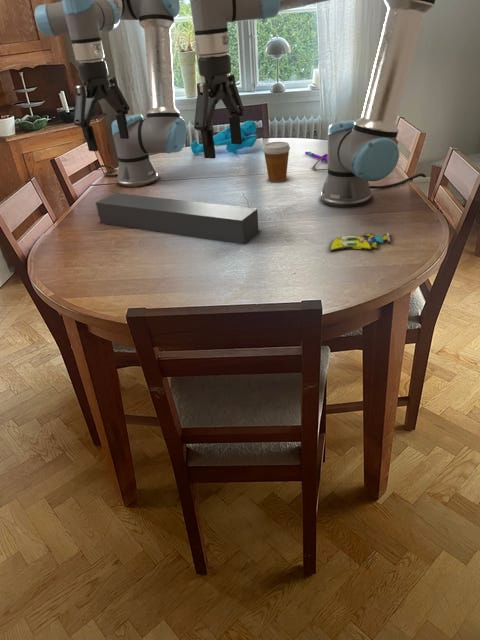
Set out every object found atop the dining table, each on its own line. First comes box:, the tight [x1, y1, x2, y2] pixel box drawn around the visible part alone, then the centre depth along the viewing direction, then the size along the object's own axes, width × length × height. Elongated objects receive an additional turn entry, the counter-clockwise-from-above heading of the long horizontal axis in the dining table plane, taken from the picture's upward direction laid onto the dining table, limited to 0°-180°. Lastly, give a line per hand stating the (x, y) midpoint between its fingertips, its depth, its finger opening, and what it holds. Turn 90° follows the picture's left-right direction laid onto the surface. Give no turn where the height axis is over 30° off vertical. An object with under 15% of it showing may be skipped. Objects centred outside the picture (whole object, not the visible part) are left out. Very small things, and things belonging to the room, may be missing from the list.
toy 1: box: [189, 120, 258, 155], centre depth 209 cm, size 17×11×30 cm
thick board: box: [95, 192, 260, 245], centre depth 140 cm, size 51×9×7 cm, turn 62°
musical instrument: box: [304, 151, 328, 171], centre depth 185 cm, size 24×2×20 cm
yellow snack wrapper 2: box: [330, 232, 391, 252], centre depth 122 cm, size 10×1×15 cm
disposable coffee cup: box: [262, 141, 291, 183], centre depth 169 cm, size 10×10×12 cm
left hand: (109, 144), depth 138 cm, fingers open, 13 cm apart
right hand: (223, 150), depth 121 cm, fingers open, 13 cm apart
